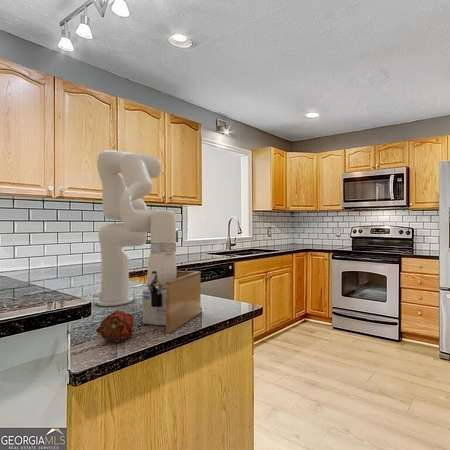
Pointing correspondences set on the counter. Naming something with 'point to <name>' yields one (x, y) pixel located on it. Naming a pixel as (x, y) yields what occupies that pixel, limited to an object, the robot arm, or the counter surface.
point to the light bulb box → (154, 309)
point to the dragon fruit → (116, 326)
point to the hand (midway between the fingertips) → (163, 303)
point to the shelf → (182, 299)
